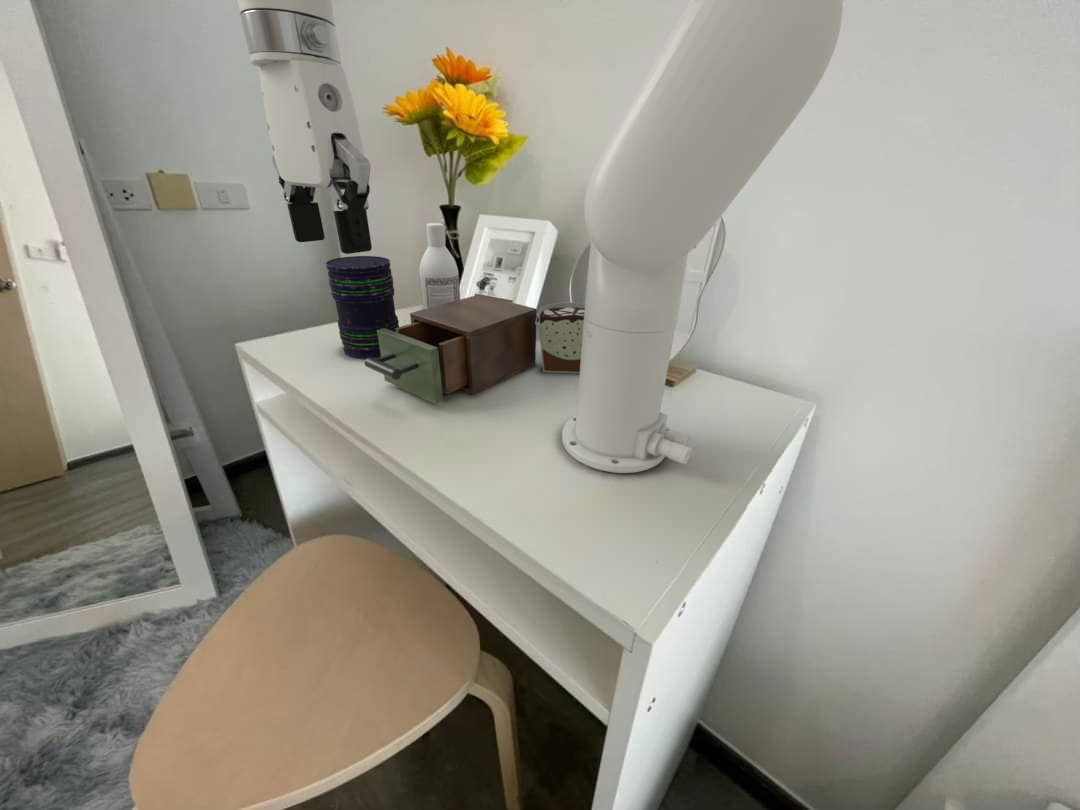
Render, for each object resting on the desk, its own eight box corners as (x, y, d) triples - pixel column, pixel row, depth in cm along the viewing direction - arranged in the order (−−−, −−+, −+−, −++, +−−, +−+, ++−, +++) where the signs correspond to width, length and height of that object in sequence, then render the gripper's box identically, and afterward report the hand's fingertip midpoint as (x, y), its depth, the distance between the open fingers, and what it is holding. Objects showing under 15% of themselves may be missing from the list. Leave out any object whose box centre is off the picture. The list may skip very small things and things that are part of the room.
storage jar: (330, 355, 74) (310, 265, 67) (363, 336, 83) (349, 254, 75) (384, 362, 72) (369, 270, 65) (412, 341, 81) (401, 258, 74)
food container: (606, 359, 76) (612, 302, 71) (610, 374, 70) (616, 314, 66) (535, 357, 76) (536, 300, 71) (533, 371, 71) (535, 311, 66)
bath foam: (469, 336, 84) (463, 225, 75) (436, 343, 80) (425, 227, 71) (451, 326, 89) (443, 220, 79) (419, 333, 85) (407, 222, 75)
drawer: (410, 416, 55) (402, 360, 52) (359, 390, 61) (348, 337, 58) (503, 372, 68) (503, 324, 64) (453, 354, 74) (449, 309, 70)
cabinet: (473, 395, 63) (469, 332, 58) (416, 371, 69) (409, 312, 65) (535, 364, 73) (536, 308, 68) (481, 346, 80) (479, 294, 75)
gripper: (386, 45, 38) (409, 252, 46) (292, 65, 47) (325, 234, 55) (298, 24, 33) (342, 262, 41) (212, 51, 42) (262, 240, 50)
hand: (332, 246), depth 48 cm, fingers open, 9 cm apart
